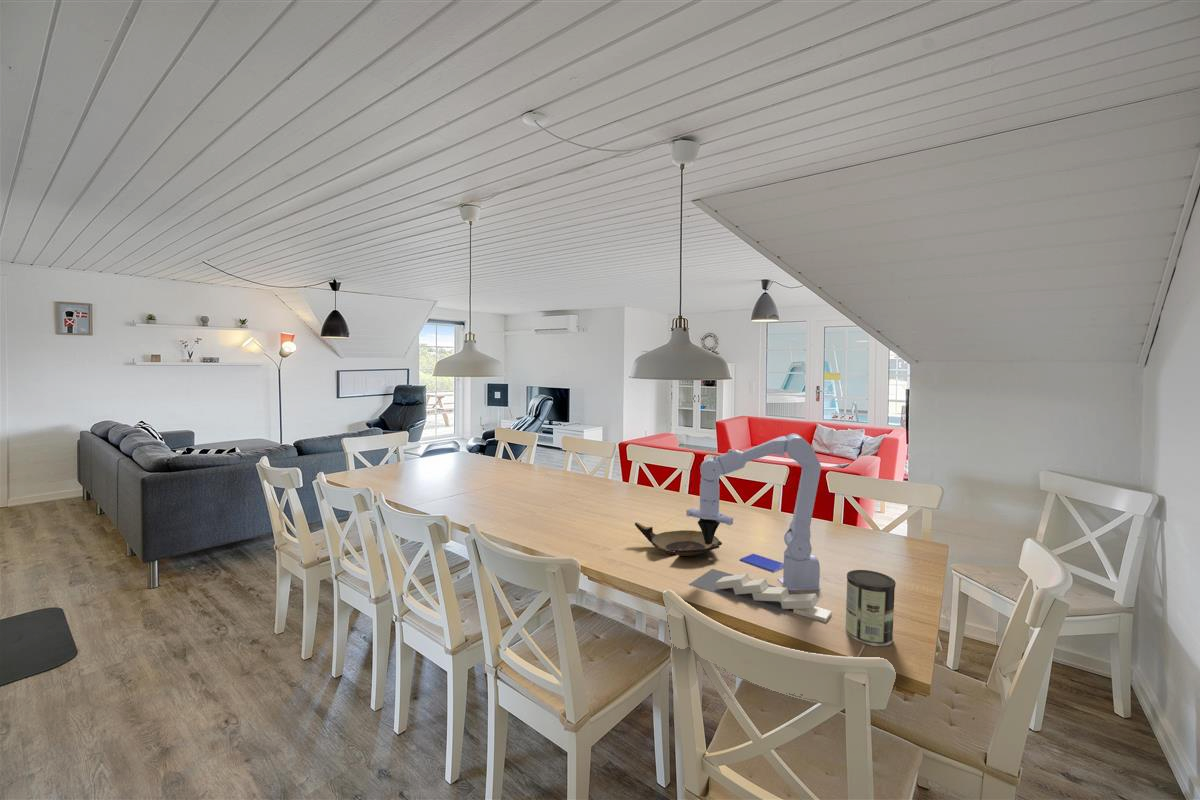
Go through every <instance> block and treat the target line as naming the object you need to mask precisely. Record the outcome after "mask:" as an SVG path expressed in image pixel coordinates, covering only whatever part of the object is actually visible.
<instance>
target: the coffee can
mask: <svg viewBox="0 0 1200 800" xmlns="http://www.w3.org/2000/svg"><path fill="white" fill-rule="evenodd" d="M896 584H897V583H896V581H895V579H894V578H892V577H891V576H889V575H887V574H884V573H882V572H878V571H873V570H867V569H853V570H850V571H848V572H847V573H846V600H845V601H846V604H845V605H846V607H845V632H846V633H847V635H848V636H849V637H851V638H853V639H855V641H859V642H861V643H863V644H864V645H867V646H872V647H886V646H889V645H892V643H893V641H894V639H893V636H894V611H895V610H894V608H895V593H896V592H895V589H896Z"/></svg>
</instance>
